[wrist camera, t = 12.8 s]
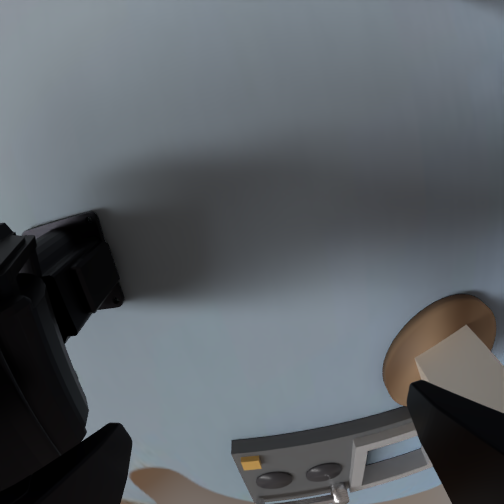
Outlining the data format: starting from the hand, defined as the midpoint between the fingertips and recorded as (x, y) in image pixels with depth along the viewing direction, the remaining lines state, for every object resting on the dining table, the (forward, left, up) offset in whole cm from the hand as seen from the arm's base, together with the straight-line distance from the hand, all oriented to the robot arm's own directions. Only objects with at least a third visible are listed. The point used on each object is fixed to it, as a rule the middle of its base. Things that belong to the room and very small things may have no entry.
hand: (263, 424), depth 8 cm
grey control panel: (+6, -23, -12) cm, 26 cm away
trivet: (+14, -11, -12) cm, 21 cm away
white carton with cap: (+14, -11, -11) cm, 21 cm away
